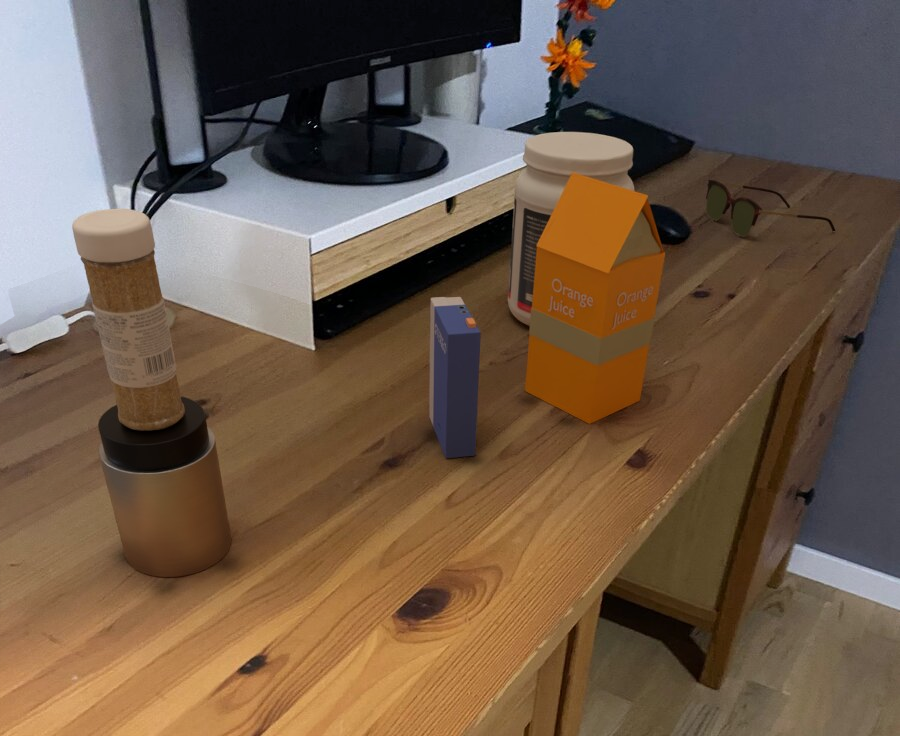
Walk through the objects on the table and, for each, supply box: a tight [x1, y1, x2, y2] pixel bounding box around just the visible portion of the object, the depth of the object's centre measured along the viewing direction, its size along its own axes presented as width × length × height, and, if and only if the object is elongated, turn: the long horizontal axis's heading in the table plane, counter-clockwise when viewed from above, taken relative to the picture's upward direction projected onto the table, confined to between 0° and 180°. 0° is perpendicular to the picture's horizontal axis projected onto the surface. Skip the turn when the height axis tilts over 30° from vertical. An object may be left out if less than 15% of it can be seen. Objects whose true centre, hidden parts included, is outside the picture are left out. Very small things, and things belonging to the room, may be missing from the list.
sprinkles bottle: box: [71, 208, 185, 431], centre depth 59 cm, size 5×5×14 cm
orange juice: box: [524, 172, 666, 425], centre depth 84 cm, size 8×9×20 cm
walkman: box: [428, 296, 482, 459], centre depth 80 cm, size 8×3×12 cm, turn 12°
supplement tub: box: [507, 131, 636, 327], centre depth 100 cm, size 13×13×18 cm
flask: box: [97, 395, 232, 578], centre depth 67 cm, size 8×8×11 cm
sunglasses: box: [705, 179, 836, 238], centre depth 133 cm, size 14×15×5 cm
